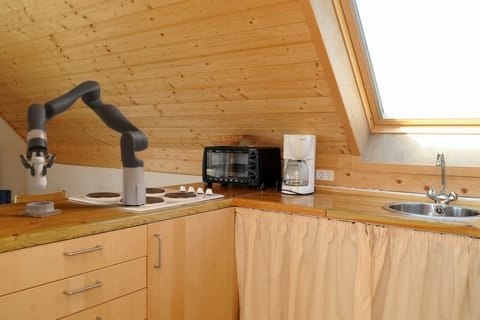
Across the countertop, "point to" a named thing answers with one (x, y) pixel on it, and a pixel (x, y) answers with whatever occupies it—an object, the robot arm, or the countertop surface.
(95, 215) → the countertop surface
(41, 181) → the salt shaker
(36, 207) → the cup holder
